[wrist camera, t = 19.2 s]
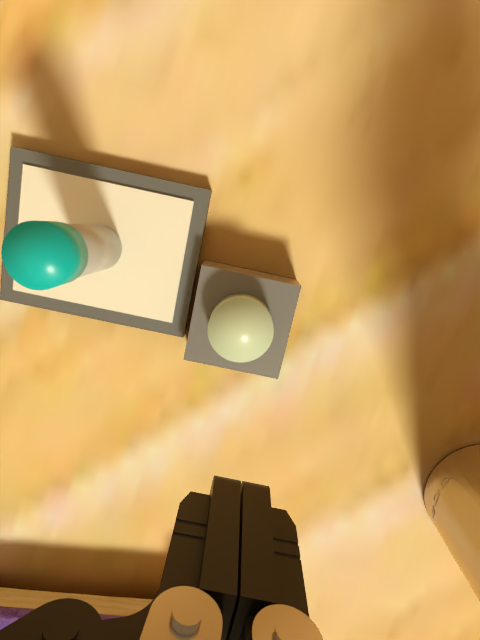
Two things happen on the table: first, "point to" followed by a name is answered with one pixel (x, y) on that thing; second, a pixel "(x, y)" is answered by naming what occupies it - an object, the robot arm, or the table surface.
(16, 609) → the toy sofa
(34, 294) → the drawing slate
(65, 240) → the marker
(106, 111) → the table surface
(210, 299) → the button housing
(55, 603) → the robot arm
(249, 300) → the button
